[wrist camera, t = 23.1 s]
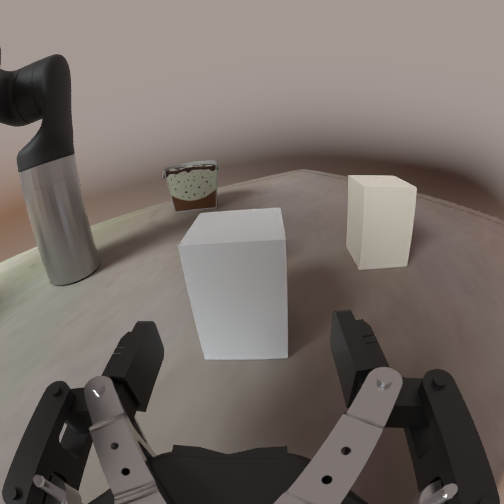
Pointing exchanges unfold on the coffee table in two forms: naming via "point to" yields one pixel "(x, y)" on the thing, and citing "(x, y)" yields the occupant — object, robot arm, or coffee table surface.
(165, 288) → the coffee table surface
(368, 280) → the coffee table surface
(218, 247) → the cover
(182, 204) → the food container
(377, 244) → the cover
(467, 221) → the coffee table surface
